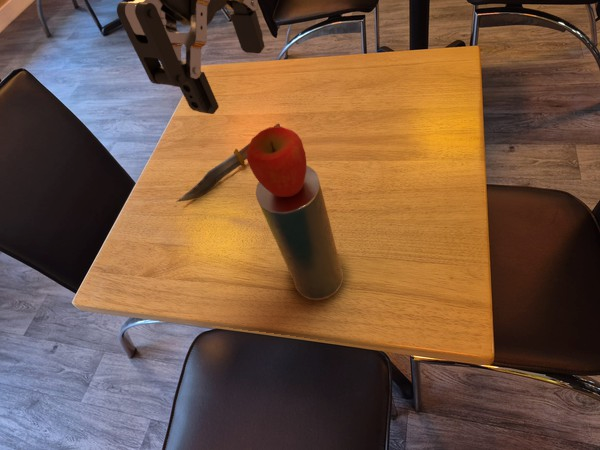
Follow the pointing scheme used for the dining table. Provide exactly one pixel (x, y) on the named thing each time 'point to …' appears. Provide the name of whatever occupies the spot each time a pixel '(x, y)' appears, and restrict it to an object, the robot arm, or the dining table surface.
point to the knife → (217, 174)
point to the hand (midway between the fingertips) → (232, 79)
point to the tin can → (304, 237)
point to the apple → (278, 161)
